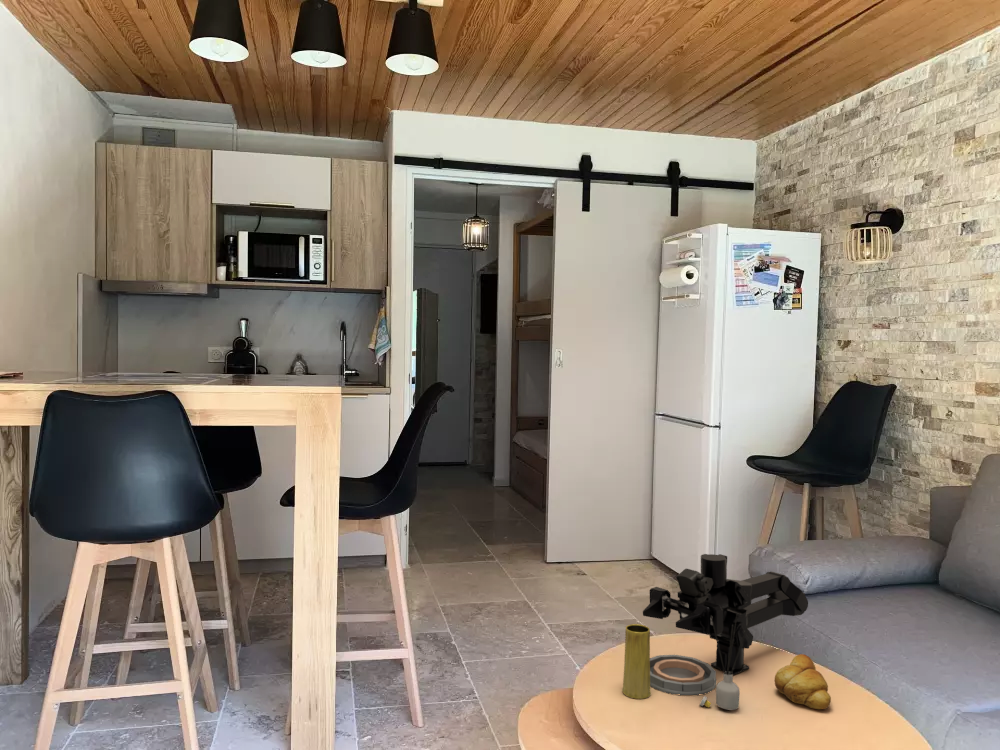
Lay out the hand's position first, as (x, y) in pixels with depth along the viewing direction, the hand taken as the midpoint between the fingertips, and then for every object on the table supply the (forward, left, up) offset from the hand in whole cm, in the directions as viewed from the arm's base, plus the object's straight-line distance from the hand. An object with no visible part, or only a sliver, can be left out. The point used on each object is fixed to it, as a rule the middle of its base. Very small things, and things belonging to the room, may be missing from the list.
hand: (659, 619), depth 160 cm
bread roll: (-24, +19, -17) cm, 36 cm away
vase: (+3, -4, -17) cm, 18 cm away
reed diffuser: (-6, +13, -17) cm, 22 cm away
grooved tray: (-10, -3, -17) cm, 20 cm away
